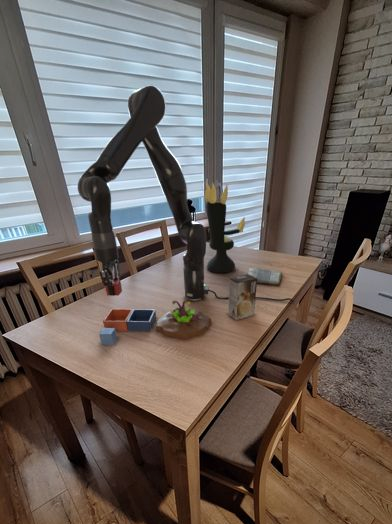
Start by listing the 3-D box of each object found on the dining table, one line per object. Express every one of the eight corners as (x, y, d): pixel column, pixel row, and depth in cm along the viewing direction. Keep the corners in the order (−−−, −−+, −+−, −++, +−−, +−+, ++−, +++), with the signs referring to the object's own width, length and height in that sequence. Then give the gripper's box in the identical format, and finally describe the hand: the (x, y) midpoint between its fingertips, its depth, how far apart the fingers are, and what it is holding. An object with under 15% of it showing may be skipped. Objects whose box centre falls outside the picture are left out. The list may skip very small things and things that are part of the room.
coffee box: (245, 309, 120) (248, 273, 111) (254, 315, 115) (258, 278, 106) (227, 314, 116) (229, 277, 107) (236, 320, 112) (238, 282, 103)
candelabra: (242, 267, 166) (249, 179, 140) (225, 278, 150) (229, 183, 124) (215, 262, 174) (216, 179, 148) (196, 273, 159) (194, 182, 133)
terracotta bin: (134, 317, 116) (133, 309, 113) (127, 330, 107) (125, 321, 105) (113, 317, 116) (111, 308, 114) (105, 330, 108) (102, 321, 105)
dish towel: (279, 286, 140) (280, 280, 138) (244, 282, 145) (244, 276, 143) (282, 274, 155) (283, 268, 153) (250, 271, 159) (250, 265, 158)
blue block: (117, 338, 103) (115, 327, 100) (113, 344, 99) (111, 334, 97) (105, 337, 103) (103, 327, 100) (101, 344, 99) (99, 334, 97)
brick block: (122, 290, 105) (120, 279, 102) (118, 295, 101) (116, 284, 98) (110, 290, 105) (108, 279, 102) (107, 295, 101) (104, 284, 99)
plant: (191, 344, 98) (190, 316, 92) (148, 330, 107) (145, 304, 100) (217, 320, 112) (218, 295, 105) (178, 310, 121) (176, 285, 114)
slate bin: (156, 318, 115) (155, 309, 113) (150, 331, 106) (149, 322, 104) (135, 317, 116) (133, 309, 113) (128, 330, 107) (126, 321, 105)
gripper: (109, 251, 87) (118, 300, 97) (122, 240, 99) (129, 285, 108) (86, 251, 87) (98, 300, 97) (101, 240, 99) (111, 285, 109)
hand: (114, 292), depth 103 cm, fingers closed on brick block, 4 cm apart
